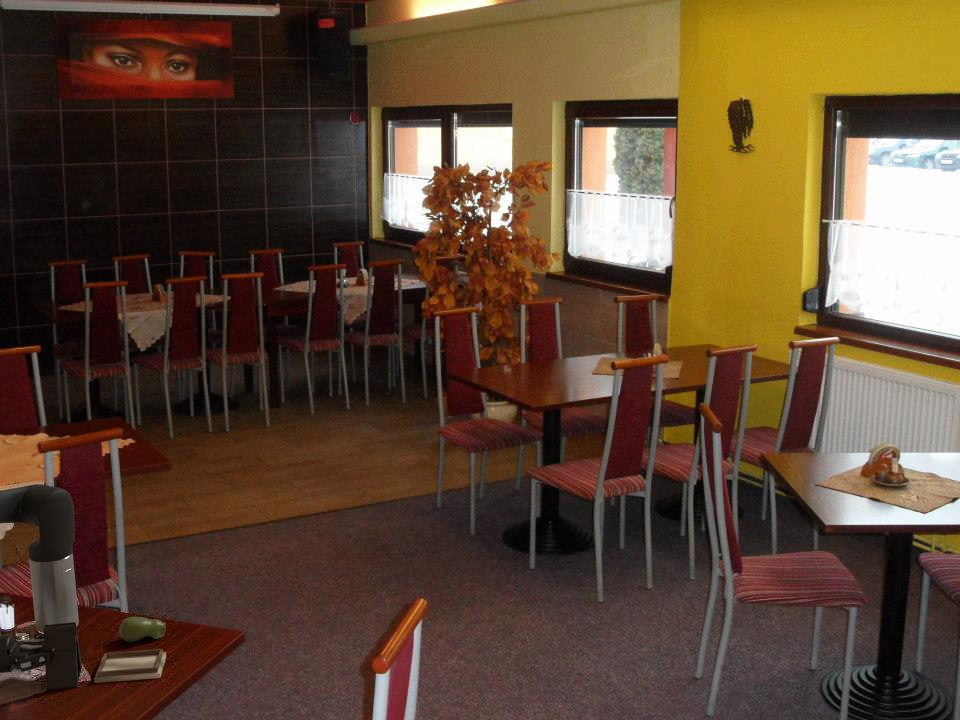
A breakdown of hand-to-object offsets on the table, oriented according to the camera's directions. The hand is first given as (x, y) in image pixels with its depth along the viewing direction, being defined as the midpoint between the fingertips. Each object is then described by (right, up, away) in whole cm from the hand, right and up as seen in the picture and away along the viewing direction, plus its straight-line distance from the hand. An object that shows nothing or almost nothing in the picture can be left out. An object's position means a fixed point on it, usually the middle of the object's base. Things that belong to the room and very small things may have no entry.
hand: (76, 648), depth 232 cm
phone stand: (-3, -7, +1) cm, 7 cm away
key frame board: (+10, -6, +5) cm, 12 cm away
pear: (+8, -3, +20) cm, 21 cm away
